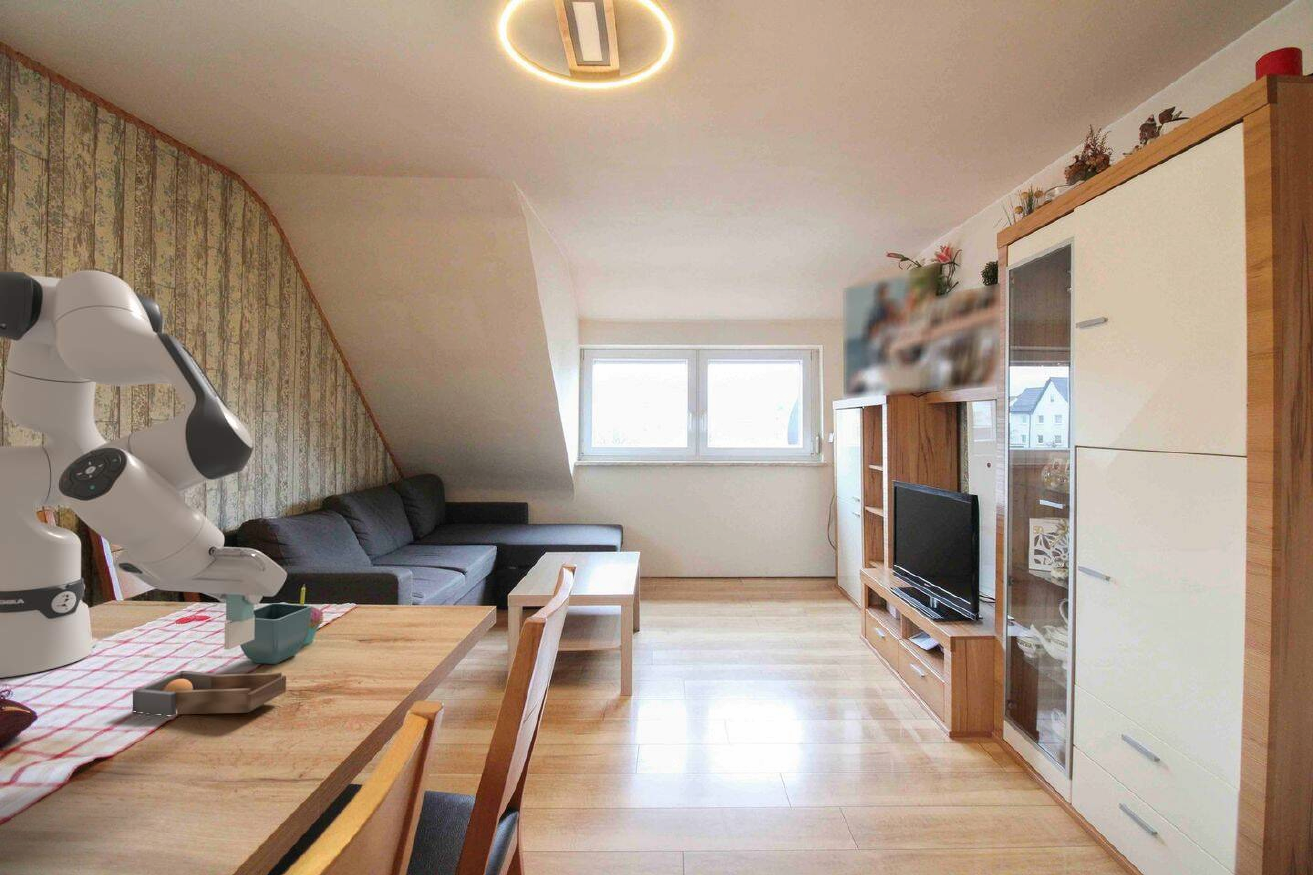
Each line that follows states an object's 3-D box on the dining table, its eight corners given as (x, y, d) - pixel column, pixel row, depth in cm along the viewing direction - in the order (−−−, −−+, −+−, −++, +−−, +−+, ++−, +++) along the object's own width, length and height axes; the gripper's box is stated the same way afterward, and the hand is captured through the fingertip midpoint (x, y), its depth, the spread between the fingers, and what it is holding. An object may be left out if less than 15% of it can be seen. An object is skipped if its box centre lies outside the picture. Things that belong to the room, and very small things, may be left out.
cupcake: (331, 641, 116) (332, 581, 116) (285, 653, 109) (286, 590, 109) (310, 632, 121) (311, 575, 121) (264, 644, 114) (265, 583, 114)
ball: (174, 710, 87) (154, 705, 88) (197, 700, 91) (177, 694, 91) (177, 687, 87) (157, 682, 87) (200, 677, 90) (180, 672, 91)
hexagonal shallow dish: (175, 713, 85) (175, 683, 85) (214, 694, 92) (214, 666, 92) (250, 721, 83) (251, 690, 83) (285, 701, 90) (286, 672, 90)
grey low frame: (132, 712, 86) (132, 691, 86) (182, 690, 93) (182, 670, 93) (170, 716, 85) (170, 694, 85) (217, 693, 92) (217, 673, 92)
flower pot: (275, 670, 102) (276, 619, 102) (232, 666, 103) (232, 616, 103) (313, 652, 110) (313, 605, 110) (272, 648, 112) (273, 602, 112)
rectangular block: (218, 648, 85) (219, 575, 85) (244, 638, 90) (244, 568, 90) (235, 649, 85) (235, 576, 85) (260, 639, 89) (260, 569, 89)
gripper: (263, 531, 79) (315, 584, 89) (136, 526, 82) (200, 578, 92) (234, 571, 74) (293, 623, 84) (101, 564, 78) (172, 615, 87)
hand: (243, 599), depth 88 cm, fingers closed on rectangular block, 3 cm apart
